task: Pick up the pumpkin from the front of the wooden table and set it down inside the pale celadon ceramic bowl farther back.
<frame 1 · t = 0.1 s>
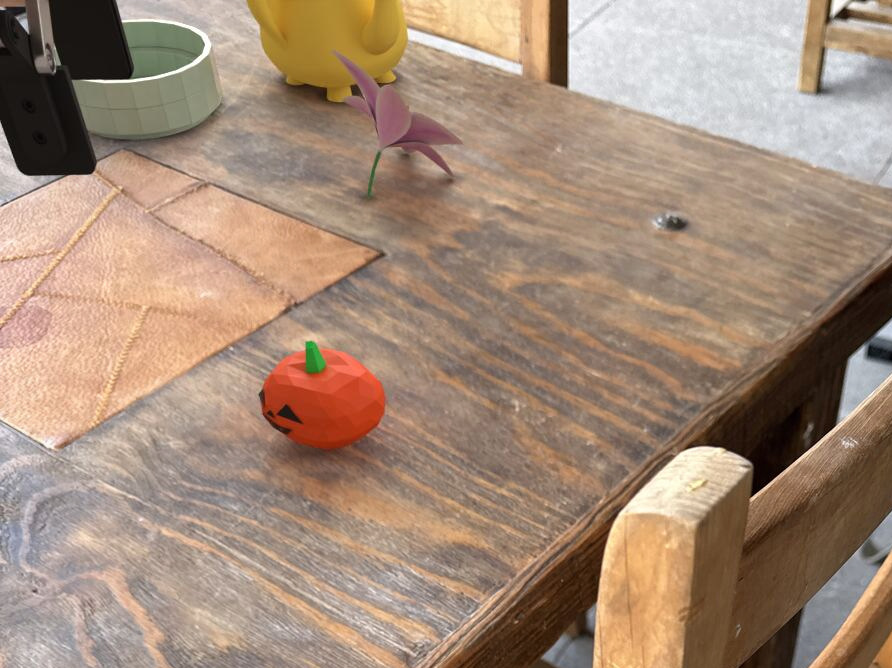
hand: (81, 122, 52), 24 cm above the table, tool pointing down, fingers open, 9 cm apart
lily: (403, 183, 99), on the table
yellow rounded piece: (355, 87, 111), on the table
bowl: (145, 110, 107), on the table
pumpkin: (333, 436, 77), on the table
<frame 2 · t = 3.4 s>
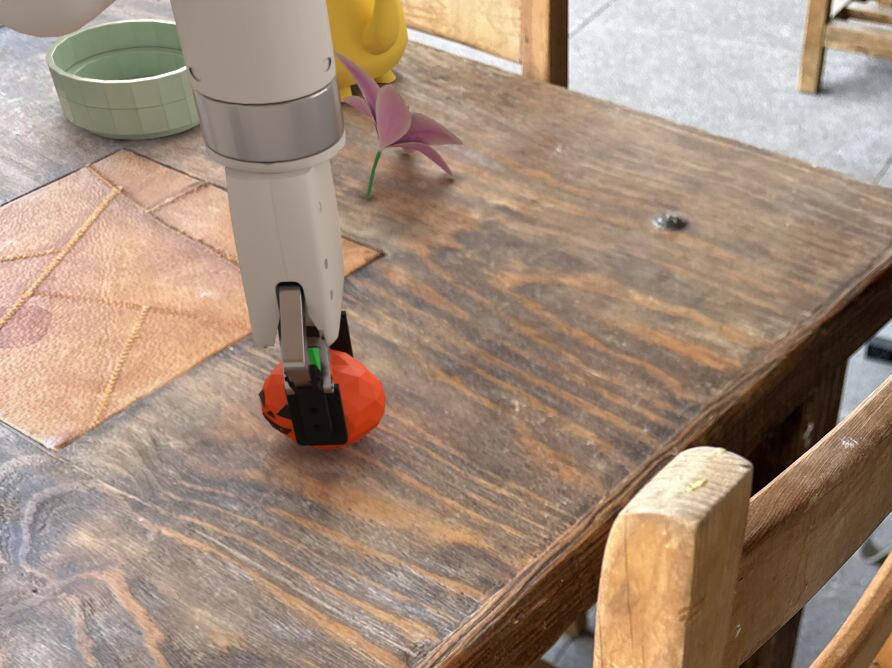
hand: (327, 403, 75), 2 cm above the table, tool pointing down, fingers closed on pumpkin, 7 cm apart
pumpkin: (333, 436, 77), on the table, touching gripper
everything else where it was.
when the fingers open (3 cm above the table, at t = 13.1 s): pumpkin stays where it is, resting on bowl.
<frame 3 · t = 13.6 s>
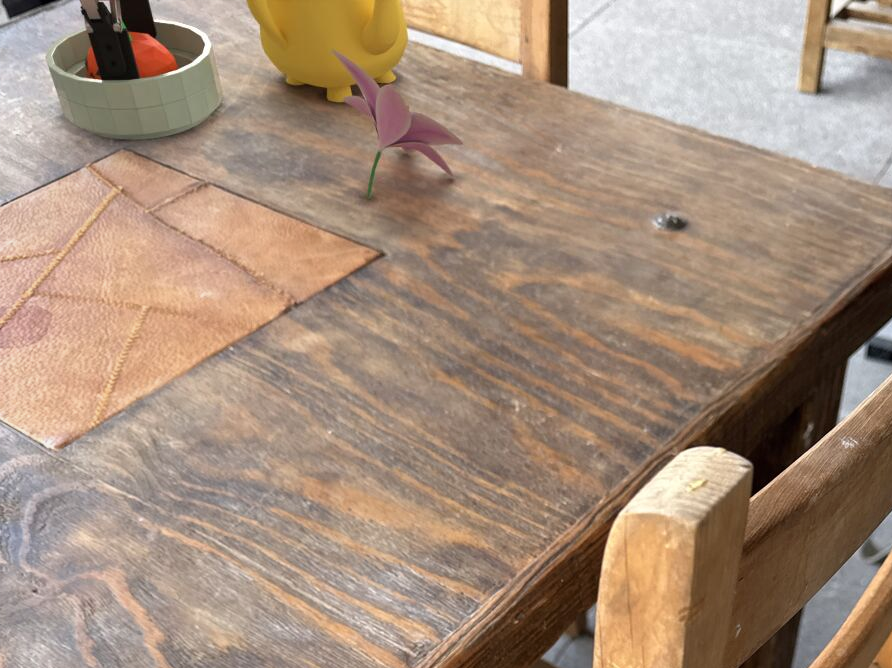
hand: (131, 59, 103), 4 cm above the table, tool pointing down, fingers open, 9 cm apart
pumpkin: (144, 103, 106), point 1 cm above the table, touching bowl
everything else where it was.
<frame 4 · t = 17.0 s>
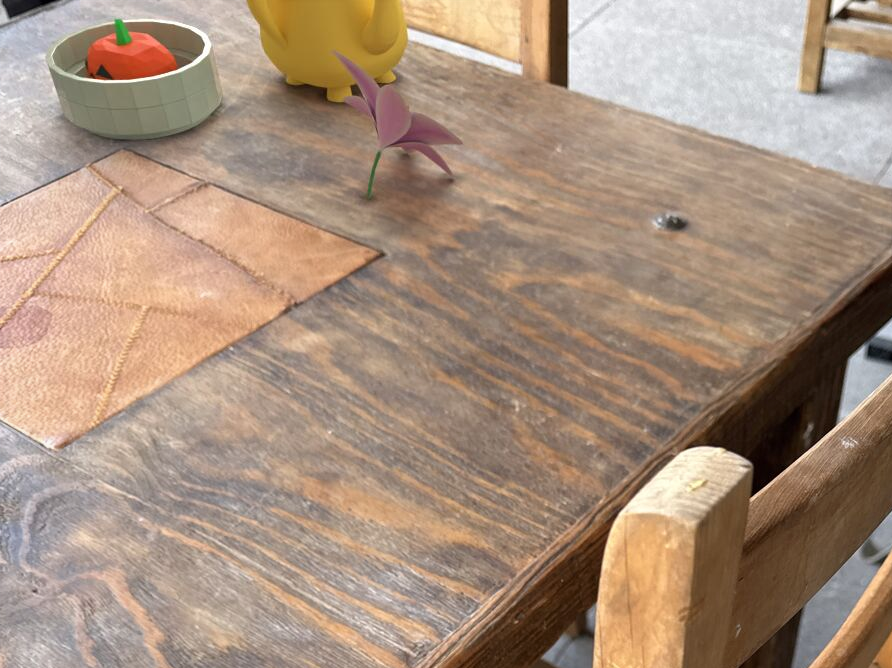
nothing on the table moved.
at the end: pumpkin inside the target area in the bowl (0.1 cm from its centre), point 0.6 cm above the bowl's base; the gripper is holding nothing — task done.
